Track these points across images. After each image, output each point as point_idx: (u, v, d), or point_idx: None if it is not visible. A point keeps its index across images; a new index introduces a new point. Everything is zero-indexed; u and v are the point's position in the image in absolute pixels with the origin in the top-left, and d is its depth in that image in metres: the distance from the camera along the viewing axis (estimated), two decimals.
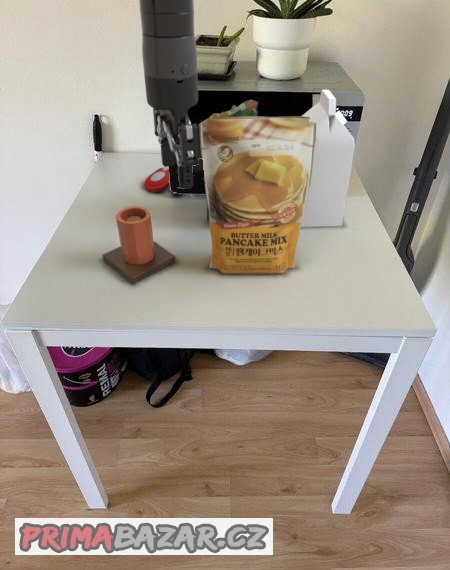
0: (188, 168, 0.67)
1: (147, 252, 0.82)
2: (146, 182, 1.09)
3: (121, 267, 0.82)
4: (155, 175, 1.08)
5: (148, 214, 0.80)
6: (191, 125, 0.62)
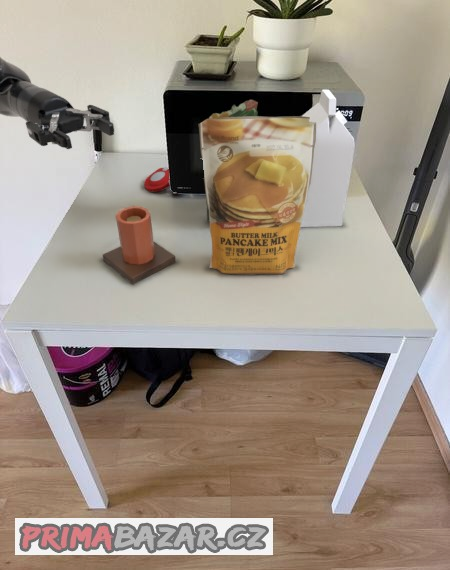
0: None
1: (147, 252, 0.82)
2: (146, 182, 1.09)
3: (121, 267, 0.82)
4: (155, 175, 1.08)
5: (148, 214, 0.80)
6: None
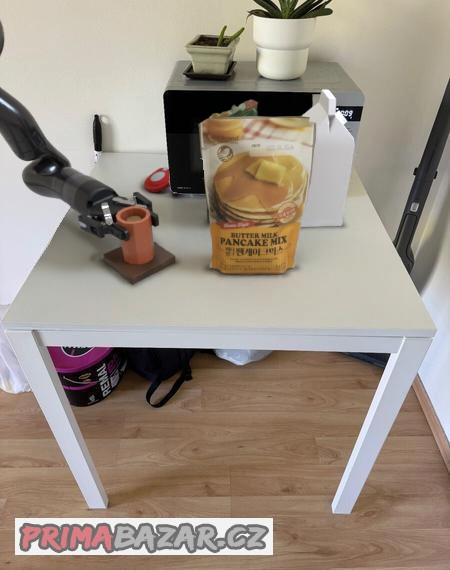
0: None
1: (147, 252, 0.82)
2: (146, 182, 1.09)
3: (121, 267, 0.82)
4: (155, 175, 1.08)
5: (148, 214, 0.80)
6: None
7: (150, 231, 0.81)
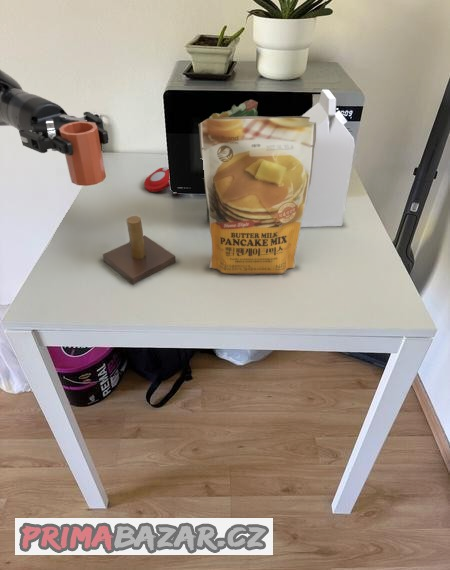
0: None
1: (95, 172, 0.76)
2: (146, 182, 1.09)
3: (121, 267, 0.82)
4: (155, 175, 1.08)
5: (95, 127, 0.73)
6: None
7: (98, 147, 0.74)
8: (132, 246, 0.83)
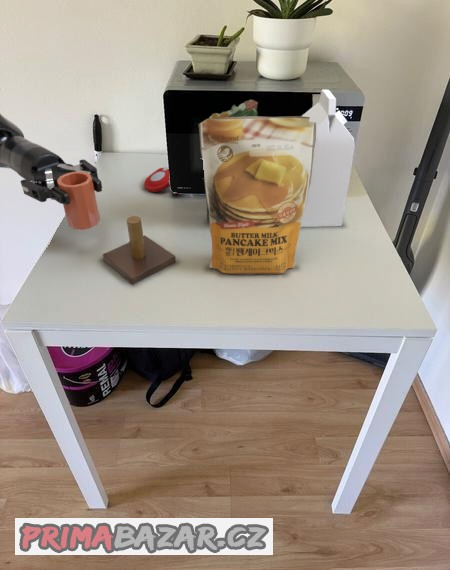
0: None
1: (90, 217, 0.83)
2: (146, 182, 1.09)
3: (121, 267, 0.82)
4: (155, 175, 1.08)
5: (89, 178, 0.81)
6: None
7: (92, 196, 0.82)
8: (132, 246, 0.83)
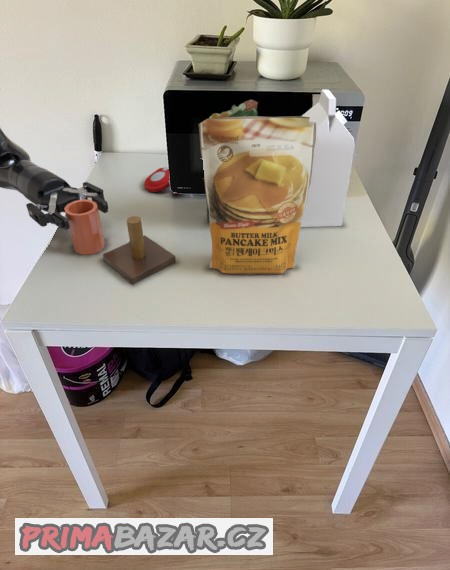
0: None
1: (96, 243, 0.87)
2: (146, 182, 1.09)
3: (121, 267, 0.82)
4: (155, 175, 1.08)
5: (95, 207, 0.84)
6: None
7: (98, 223, 0.86)
8: (132, 246, 0.83)
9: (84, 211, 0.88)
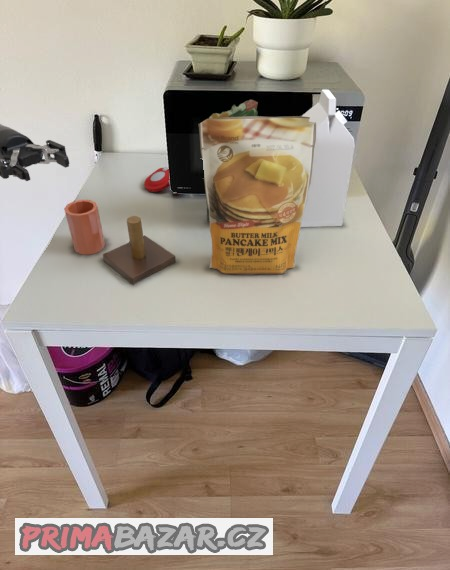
0: None
1: (96, 243, 0.87)
2: (146, 182, 1.09)
3: (121, 267, 0.82)
4: (155, 175, 1.08)
5: (95, 207, 0.84)
6: None
7: (98, 223, 0.86)
8: (132, 246, 0.83)
9: (84, 211, 0.88)
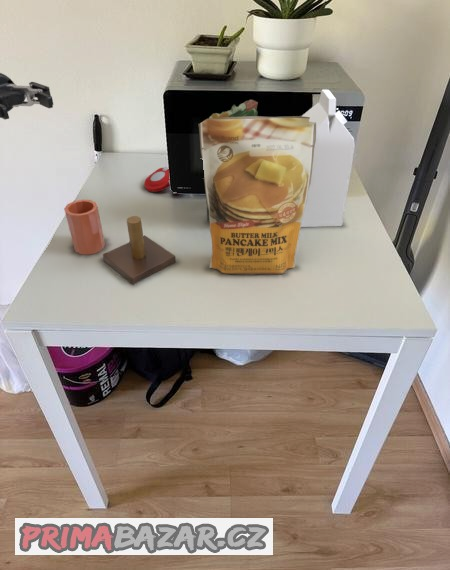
0: None
1: (96, 243, 0.87)
2: (146, 182, 1.09)
3: (121, 267, 0.82)
4: (155, 175, 1.08)
5: (95, 207, 0.84)
6: None
7: (98, 223, 0.86)
8: (132, 246, 0.83)
9: (84, 211, 0.88)
